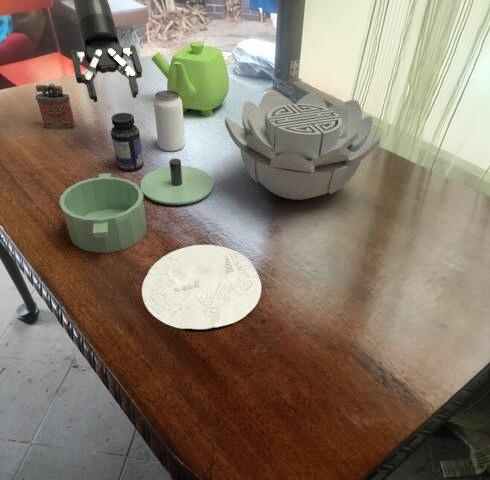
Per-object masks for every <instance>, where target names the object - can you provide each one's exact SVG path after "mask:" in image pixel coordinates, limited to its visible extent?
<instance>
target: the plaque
mask: <svg viewBox="0 0 490 480" xmlns="http://www.w3.org/2000/svg"><path fill="white" fill-rule="evenodd" d="M261 294H262V281H261V278H260V276H259V274H258V271H257V270H256V268H255V265H254V264H253V263H252V261H250V259H248V258H247V257H246V256H245V255H244V254H242V253H240V252H238V251H236V250H234V249H232V248H228V247H224V246H221V245H214V244H196V245H195V244H194V245H190V246H185V247H181V248H178V249H175V250H173V251H172V252H171V251H170V252H169V253H167V254H165V255H164V256H162V257H161V258H159V260H157V261H156V262H155V263H154V264H153V265H152V266H151V267H150V269H149V270H148V272H147V275H145V277H144V280H143V282H142V285H141V297H142V300H143V303H144V306H145V307H146V309H147V311H148V312H149V313H150V314H151V315H152V316H153V317H154V318H156V319H157V320H159V322H162V323H163V324H165V325H168V326H171V327H173V328H177V329H182V330H185V329H186V330H187V329H189V330H190V329H192V330H208V329H213V328H219V327H224V326H228V325H231V324H235V323H236V322H238V321H240V320H242V319H244V318H245V317H247V315H248V314H250V313H251V312H252V311H253V310H254V308H256V306H257V305H258V303H259V301H260V298H261Z"/></svg>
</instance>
